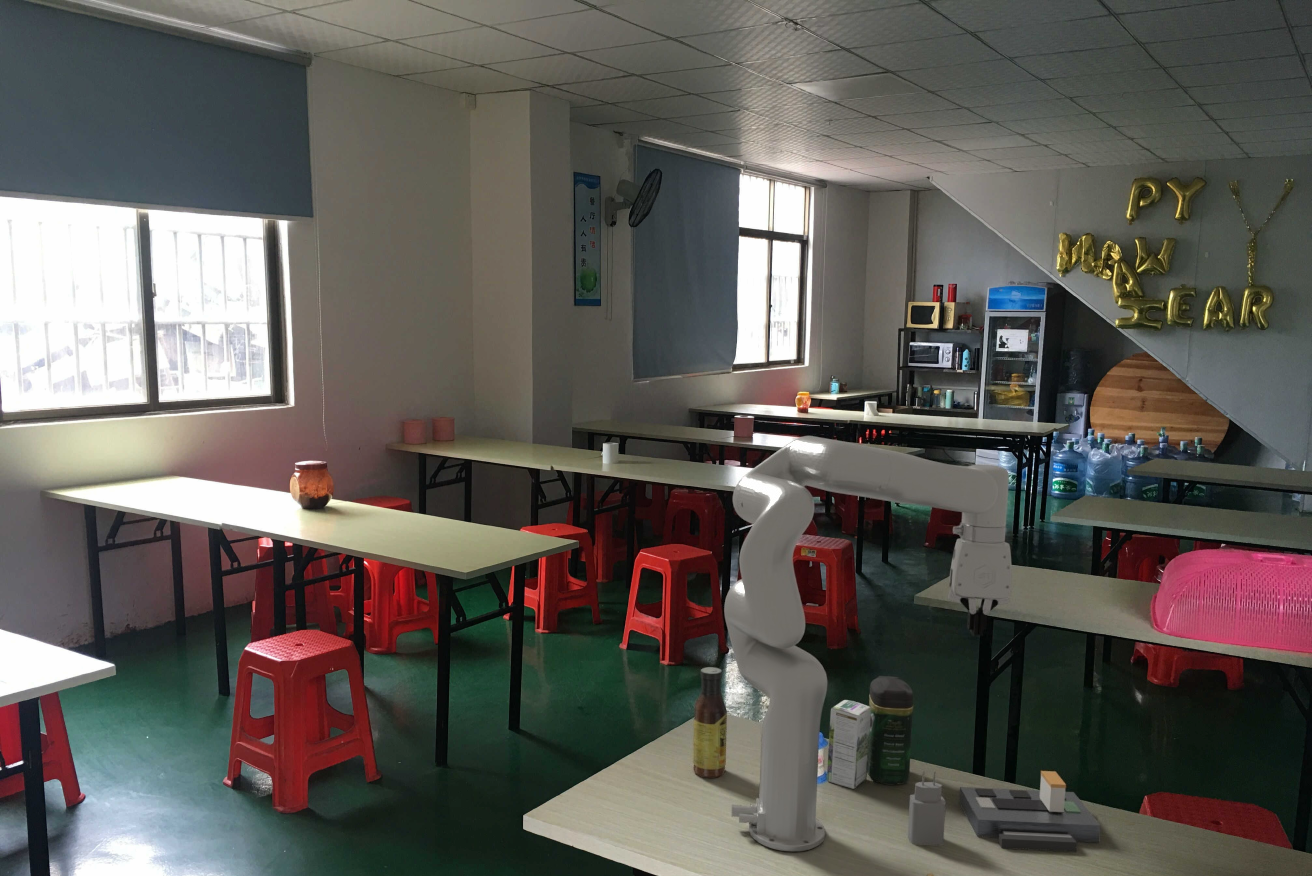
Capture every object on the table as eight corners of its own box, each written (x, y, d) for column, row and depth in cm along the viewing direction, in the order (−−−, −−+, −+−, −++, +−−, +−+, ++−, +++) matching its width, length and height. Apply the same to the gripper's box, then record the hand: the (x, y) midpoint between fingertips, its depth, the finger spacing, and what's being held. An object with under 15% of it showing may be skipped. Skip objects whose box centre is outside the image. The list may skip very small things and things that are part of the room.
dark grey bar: (1001, 847, 160) (1002, 838, 160) (996, 838, 163) (996, 829, 163) (1076, 851, 159) (1076, 842, 159) (1069, 842, 162) (1070, 833, 162)
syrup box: (839, 770, 188) (842, 697, 186) (868, 779, 184) (871, 705, 183) (826, 781, 183) (829, 706, 181) (855, 790, 180) (858, 714, 178)
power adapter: (906, 835, 164) (910, 766, 162) (938, 835, 164) (942, 766, 162) (911, 844, 161) (915, 774, 159) (944, 845, 161) (948, 775, 159)
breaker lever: (1049, 811, 166) (1051, 783, 166) (1039, 797, 171) (1040, 770, 171) (1064, 812, 166) (1066, 784, 165) (1053, 798, 171) (1055, 771, 170)
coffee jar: (913, 788, 181) (918, 691, 179) (869, 785, 182) (874, 689, 180) (904, 765, 191) (908, 673, 189) (862, 763, 191) (867, 671, 189)
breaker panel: (977, 836, 164) (978, 818, 163) (959, 802, 176) (960, 785, 175) (1099, 842, 163) (1100, 824, 162) (1072, 808, 174) (1073, 790, 174)
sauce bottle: (726, 779, 183) (729, 677, 181) (692, 778, 183) (695, 676, 181) (724, 764, 189) (727, 665, 187) (692, 763, 189) (694, 664, 187)
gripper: (944, 536, 172) (938, 637, 174) (1031, 540, 171) (1024, 642, 172) (936, 528, 179) (930, 625, 181) (1019, 532, 178) (1012, 630, 180)
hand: (976, 633), depth 177 cm, fingers closed
